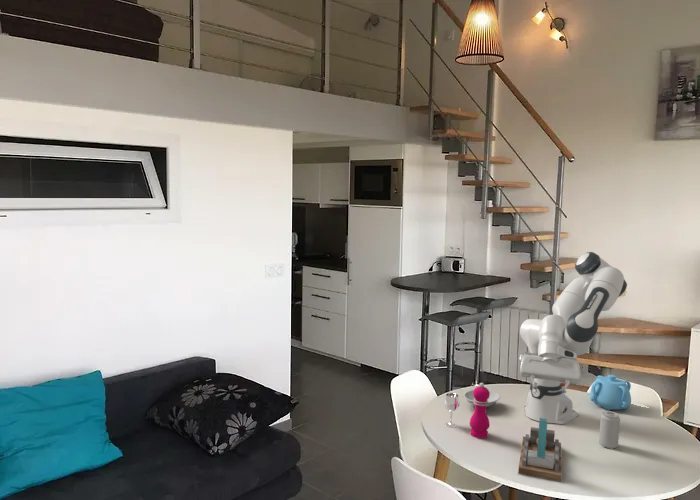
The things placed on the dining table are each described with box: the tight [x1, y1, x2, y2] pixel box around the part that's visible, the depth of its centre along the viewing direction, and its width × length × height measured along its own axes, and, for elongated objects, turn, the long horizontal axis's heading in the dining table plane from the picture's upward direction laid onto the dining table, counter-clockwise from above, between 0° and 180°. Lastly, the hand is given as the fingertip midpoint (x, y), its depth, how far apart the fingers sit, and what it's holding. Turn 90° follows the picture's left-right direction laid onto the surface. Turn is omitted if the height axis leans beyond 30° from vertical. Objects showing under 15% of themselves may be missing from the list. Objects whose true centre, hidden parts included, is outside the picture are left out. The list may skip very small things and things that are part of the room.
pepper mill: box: [469, 382, 490, 439], centre depth 216 cm, size 7×7×20 cm
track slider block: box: [527, 418, 554, 469], centre depth 190 cm, size 5×8×15 cm, turn 70°
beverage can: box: [598, 410, 621, 449], centre depth 211 cm, size 6×6×12 cm
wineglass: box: [443, 392, 460, 429], centre depth 225 cm, size 6×6×12 cm
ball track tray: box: [518, 426, 562, 482], centre depth 198 cm, size 26×13×7 cm, turn 160°
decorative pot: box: [589, 374, 632, 411], centre depth 252 cm, size 16×16×14 cm
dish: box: [462, 389, 501, 408], centre depth 246 cm, size 18×14×5 cm
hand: (549, 390), depth 200 cm, fingers open, 8 cm apart
